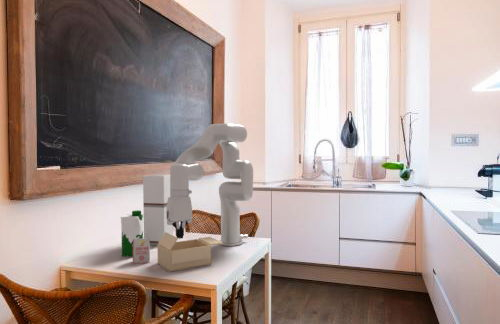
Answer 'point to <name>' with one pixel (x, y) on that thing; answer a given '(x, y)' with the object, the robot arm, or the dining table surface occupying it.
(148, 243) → the white red printed box
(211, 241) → the flap
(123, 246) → the milk carton
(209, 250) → the carton
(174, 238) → the flap
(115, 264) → the dining table surface
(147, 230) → the white banded tower
